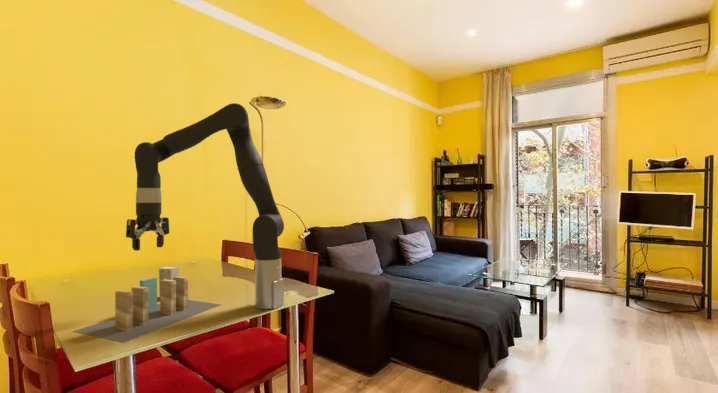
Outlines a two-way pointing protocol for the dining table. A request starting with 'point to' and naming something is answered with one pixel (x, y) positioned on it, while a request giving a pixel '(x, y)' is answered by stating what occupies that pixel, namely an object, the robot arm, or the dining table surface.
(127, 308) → the domino
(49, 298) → the dining table surface
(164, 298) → the domino
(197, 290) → the dining table surface
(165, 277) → the skincare box
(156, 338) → the dining table surface
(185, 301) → the domino
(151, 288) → the domino
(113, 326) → the mat
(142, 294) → the domino
